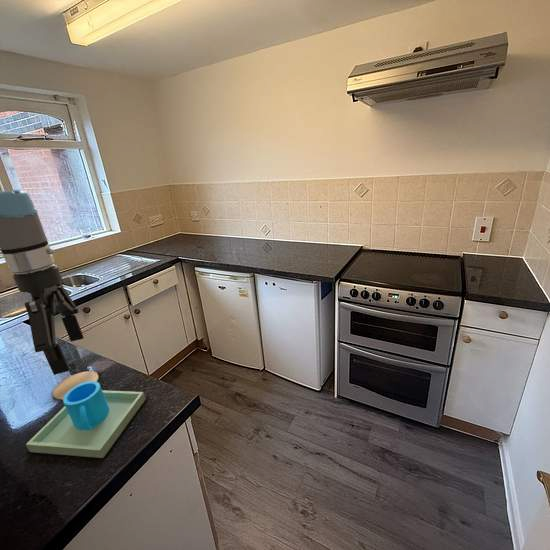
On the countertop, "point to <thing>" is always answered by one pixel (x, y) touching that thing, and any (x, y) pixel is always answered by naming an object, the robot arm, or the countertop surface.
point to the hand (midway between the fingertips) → (70, 354)
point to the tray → (92, 443)
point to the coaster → (73, 383)
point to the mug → (86, 405)
